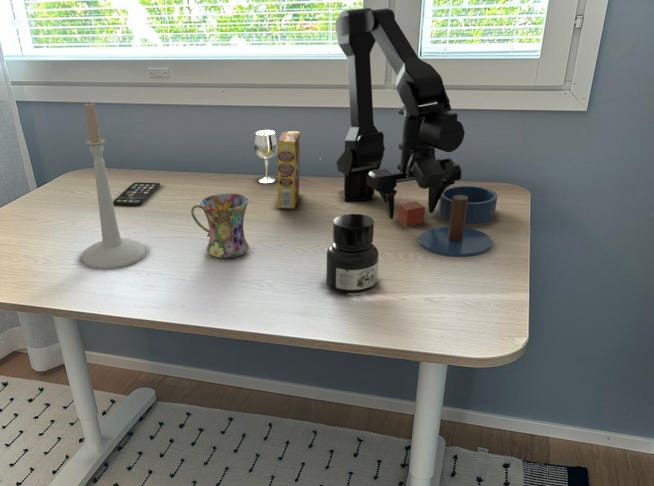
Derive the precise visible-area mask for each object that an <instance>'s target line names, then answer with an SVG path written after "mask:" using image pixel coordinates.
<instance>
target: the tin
mask: <svg viewBox="0 0 654 486" xmlns="http://www.w3.org/2000/svg"><path fill="white" fill-rule="evenodd" d="M455 195H464V196H467V197H468V203H467V211H466V219H465V225H469V226H471V225H481V224H486V223H489V222H491V221H492V220H494V218H495V215H496V209H497V203H498V197H499V195H498V194H497V192H496V191H494V190H492V189H490V188H487V187H483V186H475V185H457V186H456V185H455V186H449V187H447V188H446V189H445V190H444V192H443V193H442V195H441V197H440V199H439V201H438V210H437V215H438V216H439V218H440V219H442V220H443V221H445V222H448V223H450V216H451V207H452V199H453V196H455Z"/></svg>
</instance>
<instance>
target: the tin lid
mask: <svg viewBox="0 0 654 486" xmlns="http://www.w3.org/2000/svg"><path fill="white" fill-rule="evenodd" d="M467 203H468V197H467V196H464V195H455V196H453V199H452V207H451V216H450V222H449V226H439V227H433V228H430V229H427V230H425V231H423V232H422V233H420V235H419V236H418V243H419V245H420V247H422V248H423V249H424V250H426V251H428V252H430V253H432V254H437V255H441V256H447V257H457V258H458V257H459V258H461V257H473V256H479V255H482V254H484V253H487V252H488V251H490V249H492V246H493V239H492V238H491V236H490V235H489V234H487V233H485V232H484V231H481V230H478V229H474V228H470V227H465V225H466V224H465V219H466V211H467Z"/></svg>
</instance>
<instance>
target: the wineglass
mask: <svg viewBox="0 0 654 486" xmlns="http://www.w3.org/2000/svg"><path fill="white" fill-rule="evenodd" d="M253 146H254V153H255V154H256V156H257V157H259V158H260V159H264V167H265V176H263V177H261V178H259V179H258V182H259V183H261V184H271V183H274V182H276V181H277V179H276V177H272V176H271V177H270V176H269V160H268V159H271V158H273V157H275V156H276V154H277V153H278V139H277V134H276V131H274V130H270V129H264V130H258V131H256V132H255V137H254V145H253Z"/></svg>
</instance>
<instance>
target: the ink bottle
mask: <svg viewBox="0 0 654 486" xmlns="http://www.w3.org/2000/svg"><path fill="white" fill-rule="evenodd" d="M332 225H333V227H332V238H333V239H332V241H333V243H332V244H331V245H330V246H329V247H328V248H327V250H326V277H325V278H326V279H325V280H326V285H327V287H328V288H329V289H330V290H332V291H333V292H335V293H337V294H341V295H349V294H362V293H365V292H368V291H371V290H373V289H375V287H376V286H377V285H378V274H379V273H378V272H379V250H378V248H377V247H376V246H375V245H374V244H373V242H374V232H375V231H374V229H375V220H374V219H373V217H371V216H369V215H365V214H360V213H349V214H348V213H347V214H343V215H339V216H337V217H335V218H334V220H333V223H332Z"/></svg>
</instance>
